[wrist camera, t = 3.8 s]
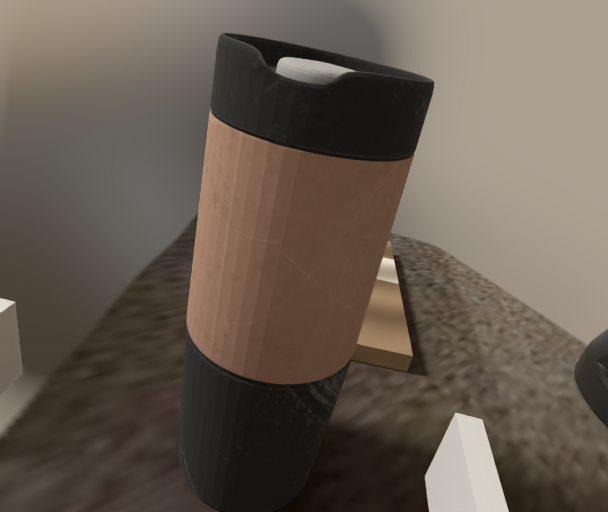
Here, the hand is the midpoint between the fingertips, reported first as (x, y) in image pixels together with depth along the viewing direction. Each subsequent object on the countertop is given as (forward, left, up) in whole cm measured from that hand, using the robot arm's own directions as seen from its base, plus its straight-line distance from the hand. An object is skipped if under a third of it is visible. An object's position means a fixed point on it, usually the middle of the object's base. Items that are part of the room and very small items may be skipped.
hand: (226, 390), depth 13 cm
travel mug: (-6, -4, -11) cm, 13 cm away
